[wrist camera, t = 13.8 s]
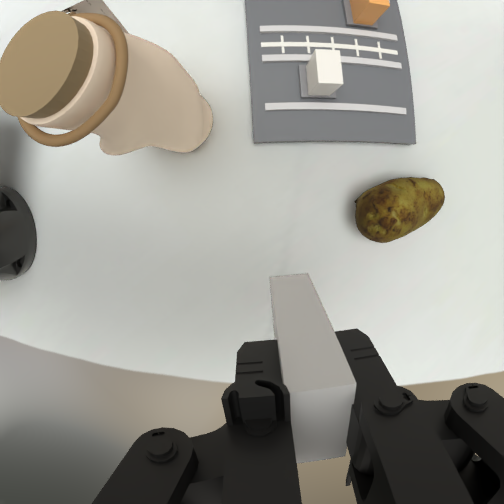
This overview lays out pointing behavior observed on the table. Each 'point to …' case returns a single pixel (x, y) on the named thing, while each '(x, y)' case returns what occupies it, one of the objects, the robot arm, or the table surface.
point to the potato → (397, 207)
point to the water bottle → (99, 84)
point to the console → (353, 70)
